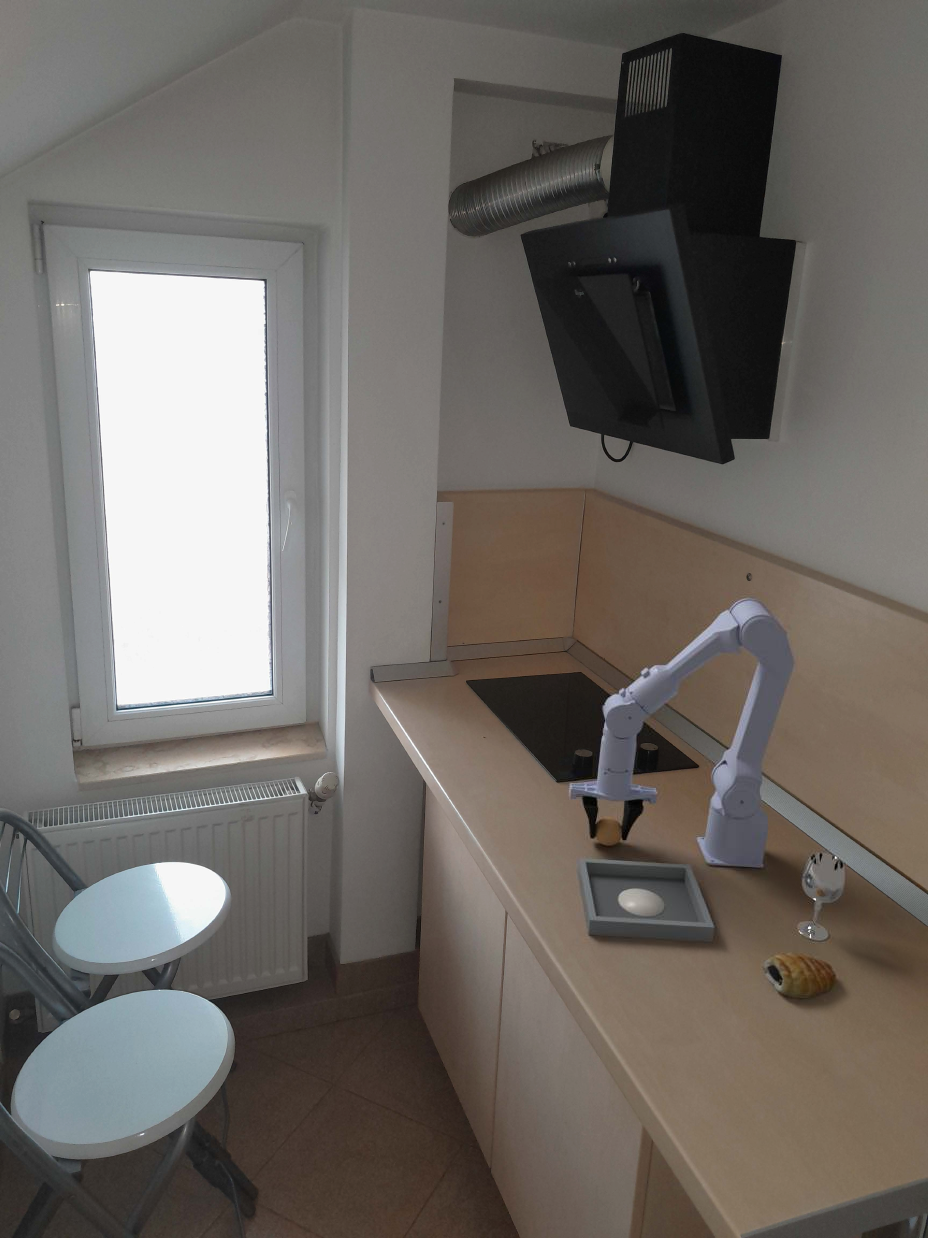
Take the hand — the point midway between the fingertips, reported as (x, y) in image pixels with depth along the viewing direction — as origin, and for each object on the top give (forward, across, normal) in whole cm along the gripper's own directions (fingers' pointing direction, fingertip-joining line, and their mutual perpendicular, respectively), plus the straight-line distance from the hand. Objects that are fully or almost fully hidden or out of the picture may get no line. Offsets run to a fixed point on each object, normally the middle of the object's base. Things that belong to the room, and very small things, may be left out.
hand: (607, 836), depth 154 cm
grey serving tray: (+1, -3, +17) cm, 17 cm away
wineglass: (+2, -28, +21) cm, 35 cm away
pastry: (+2, -22, +32) cm, 39 cm away
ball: (-1, 0, 0) cm, 1 cm away
